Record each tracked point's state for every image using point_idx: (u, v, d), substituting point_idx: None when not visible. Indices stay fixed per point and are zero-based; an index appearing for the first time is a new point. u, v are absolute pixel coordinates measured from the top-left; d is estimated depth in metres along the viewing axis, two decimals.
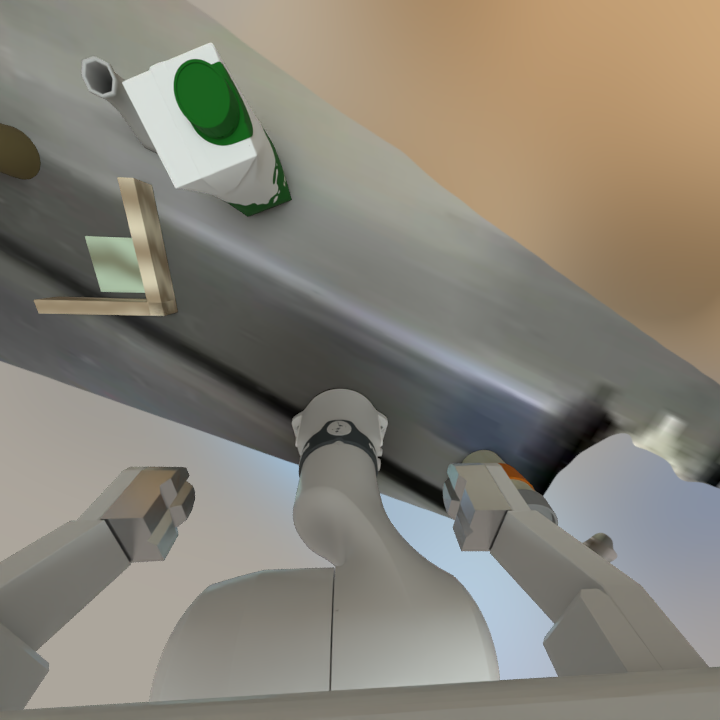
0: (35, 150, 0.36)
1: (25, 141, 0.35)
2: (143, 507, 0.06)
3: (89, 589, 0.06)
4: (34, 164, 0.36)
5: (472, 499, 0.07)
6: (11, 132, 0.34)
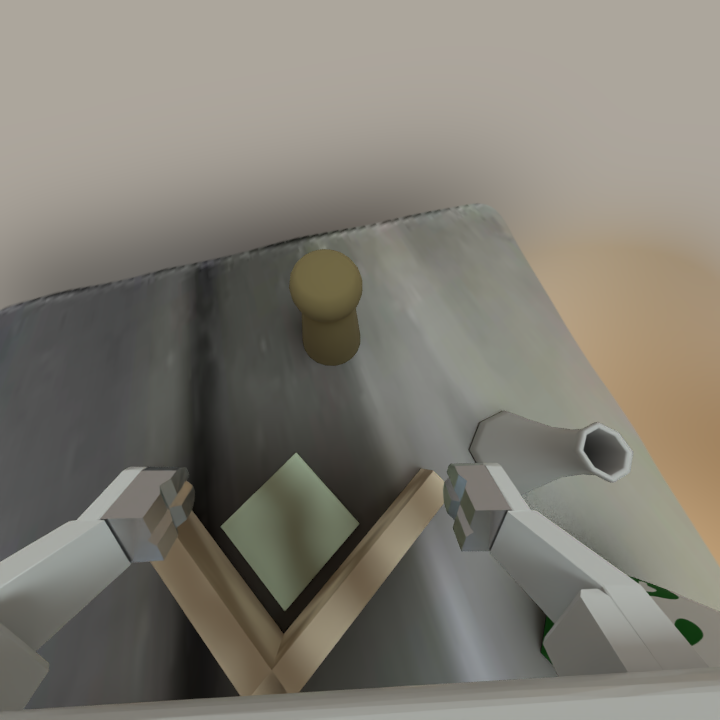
0: (354, 354, 0.27)
1: (357, 345, 0.27)
2: (143, 507, 0.06)
3: (89, 589, 0.06)
4: (339, 361, 0.26)
5: (472, 499, 0.07)
6: (358, 334, 0.26)
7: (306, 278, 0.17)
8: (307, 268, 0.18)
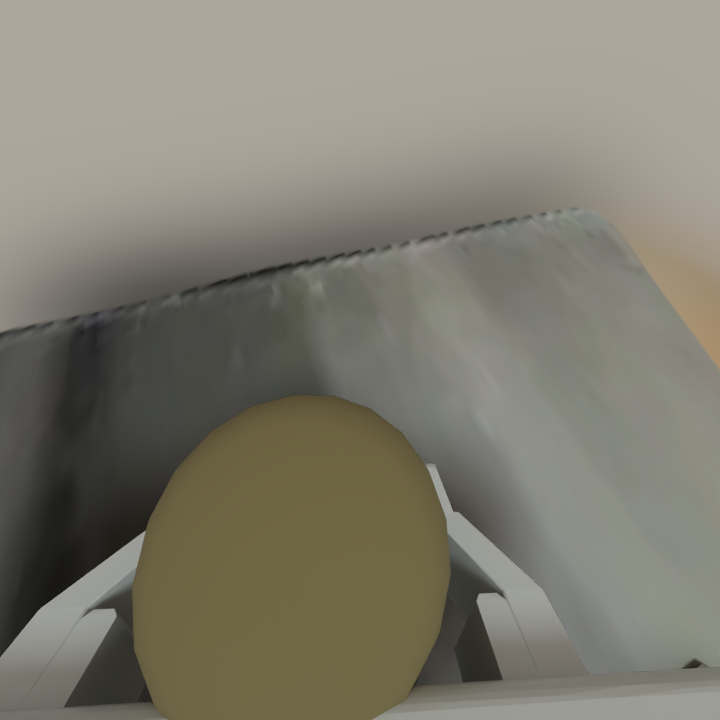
0: None
1: None
2: None
3: None
4: None
5: None
6: None
7: (188, 624, 0.03)
8: (201, 551, 0.03)
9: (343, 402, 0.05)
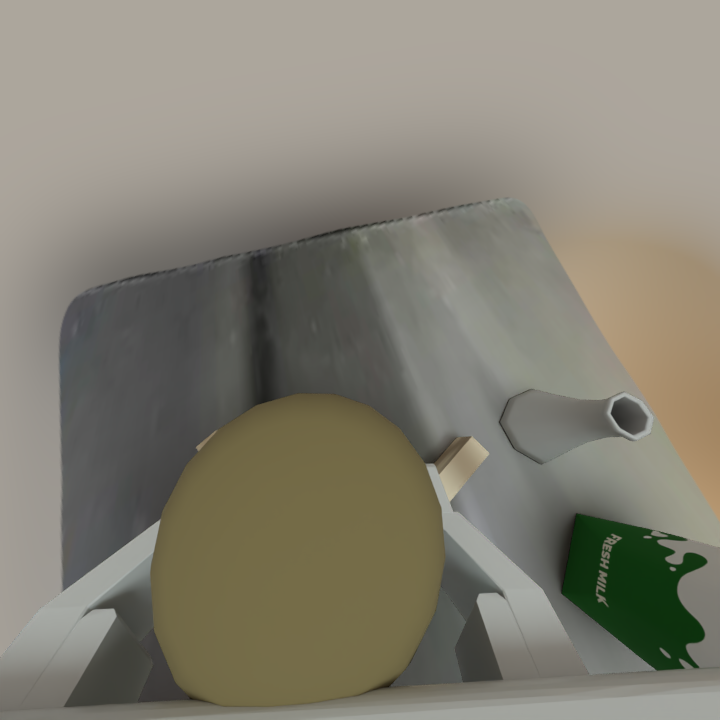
0: None
1: None
2: None
3: None
4: None
5: None
6: None
7: (205, 606, 0.04)
8: (216, 540, 0.04)
9: (344, 400, 0.05)
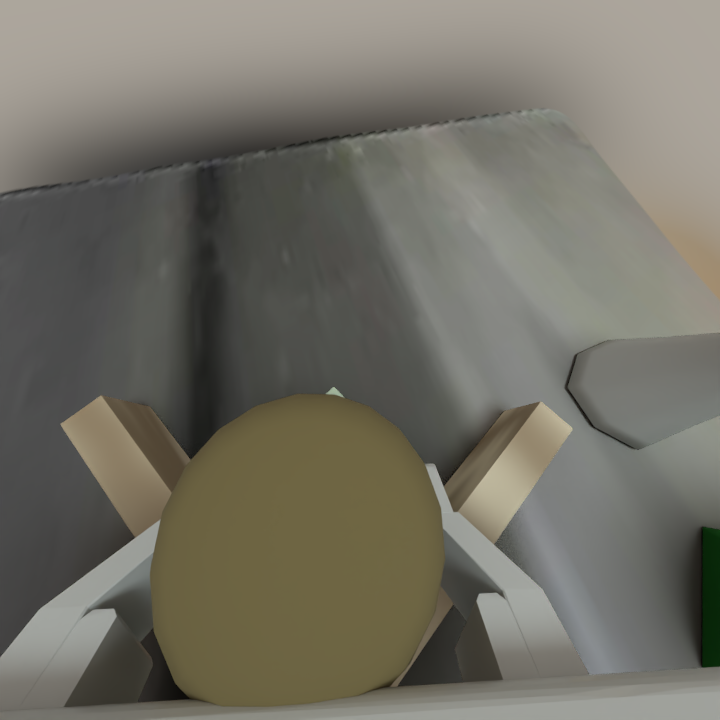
0: None
1: None
2: None
3: None
4: None
5: None
6: None
7: (205, 607, 0.04)
8: (215, 540, 0.04)
9: (344, 401, 0.05)
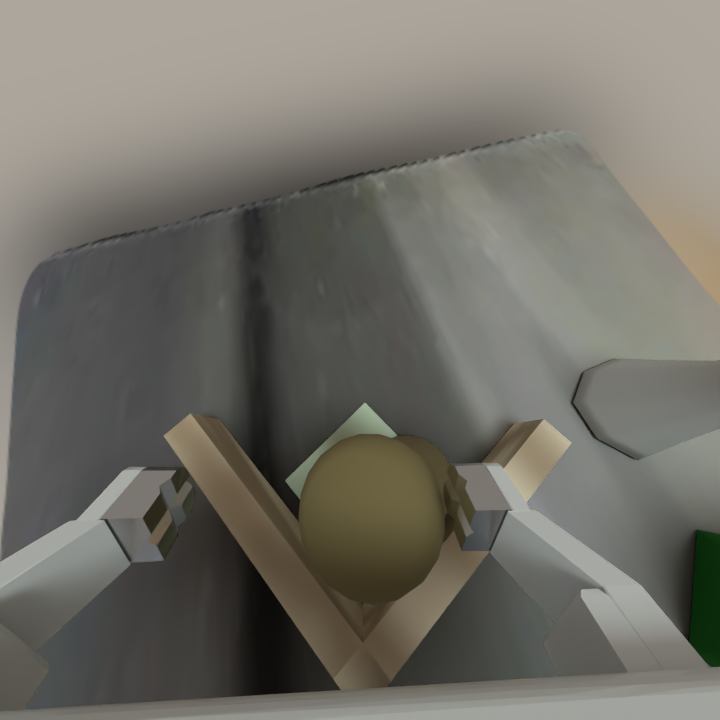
0: None
1: None
2: (143, 507, 0.06)
3: (89, 589, 0.06)
4: None
5: (472, 499, 0.07)
6: None
7: (319, 535, 0.08)
8: (321, 508, 0.09)
9: (381, 440, 0.09)
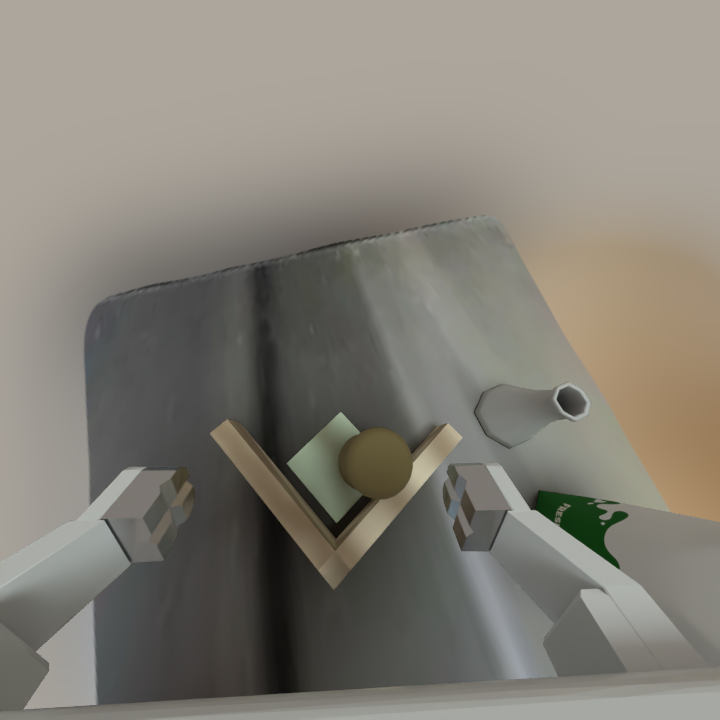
0: None
1: None
2: (143, 507, 0.06)
3: (89, 589, 0.06)
4: None
5: (472, 499, 0.07)
6: None
7: (365, 470, 0.19)
8: (366, 459, 0.19)
9: (387, 429, 0.21)
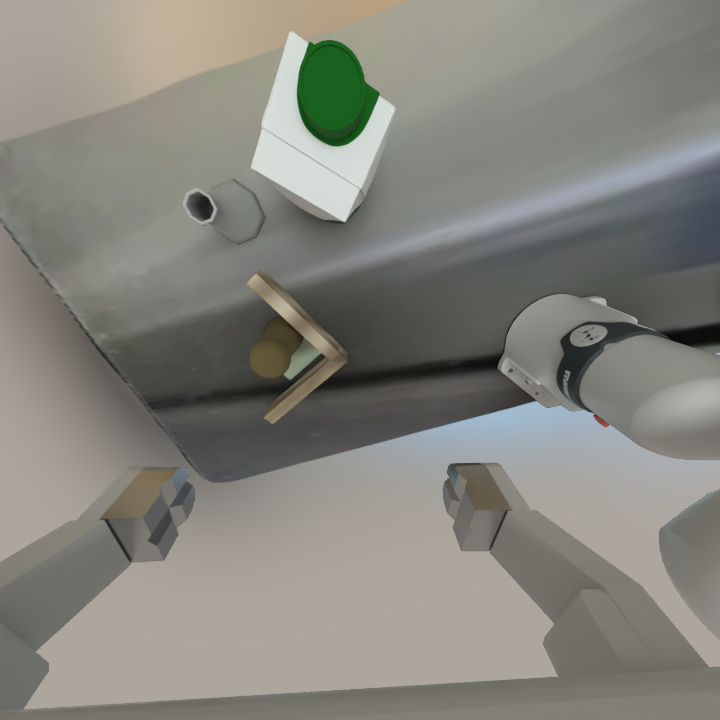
0: None
1: None
2: (143, 507, 0.06)
3: (89, 589, 0.06)
4: None
5: (472, 499, 0.07)
6: (283, 321, 0.40)
7: (272, 372, 0.34)
8: (266, 372, 0.33)
9: (249, 357, 0.33)
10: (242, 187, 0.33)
